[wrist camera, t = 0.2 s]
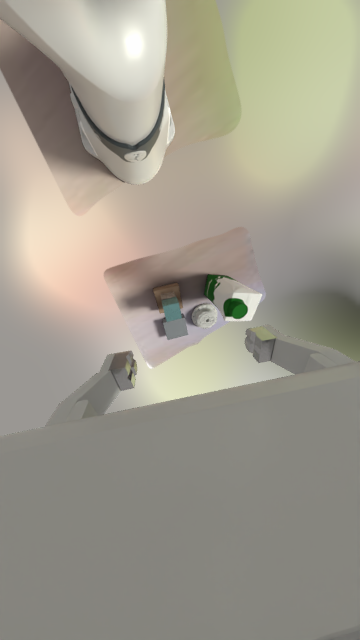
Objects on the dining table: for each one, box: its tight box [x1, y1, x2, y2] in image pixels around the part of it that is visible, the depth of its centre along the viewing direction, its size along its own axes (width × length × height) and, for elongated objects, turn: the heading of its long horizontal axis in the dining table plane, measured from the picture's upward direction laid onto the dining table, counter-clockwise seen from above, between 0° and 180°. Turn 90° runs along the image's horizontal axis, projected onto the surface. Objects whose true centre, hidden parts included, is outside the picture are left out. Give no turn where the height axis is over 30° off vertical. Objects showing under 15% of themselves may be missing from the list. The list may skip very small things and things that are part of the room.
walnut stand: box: [153, 283, 183, 313], centre depth 48 cm, size 8×8×3 cm
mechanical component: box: [192, 303, 217, 329], centre depth 55 cm, size 10×4×10 cm
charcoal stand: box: [162, 314, 188, 340], centre depth 55 cm, size 8×8×3 cm
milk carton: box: [204, 274, 262, 321], centre depth 42 cm, size 9×9×20 cm
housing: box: [161, 291, 182, 322], centre depth 44 cm, size 5×4×9 cm
